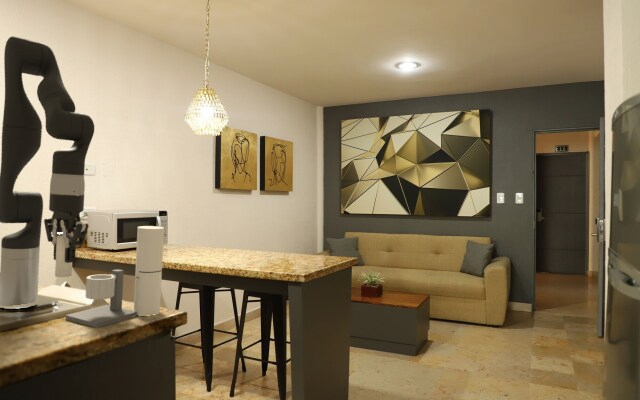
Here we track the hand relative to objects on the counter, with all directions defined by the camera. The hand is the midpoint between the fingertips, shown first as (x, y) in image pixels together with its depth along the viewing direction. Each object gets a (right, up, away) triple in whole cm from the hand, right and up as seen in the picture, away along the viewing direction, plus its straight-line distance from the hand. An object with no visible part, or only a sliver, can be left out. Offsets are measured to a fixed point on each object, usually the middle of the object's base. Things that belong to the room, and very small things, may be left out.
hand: (64, 260), depth 113 cm
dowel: (0, -4, 0) cm, 4 cm away
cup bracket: (+4, -17, +11) cm, 21 cm away
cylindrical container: (+14, -18, +18) cm, 29 cm away
